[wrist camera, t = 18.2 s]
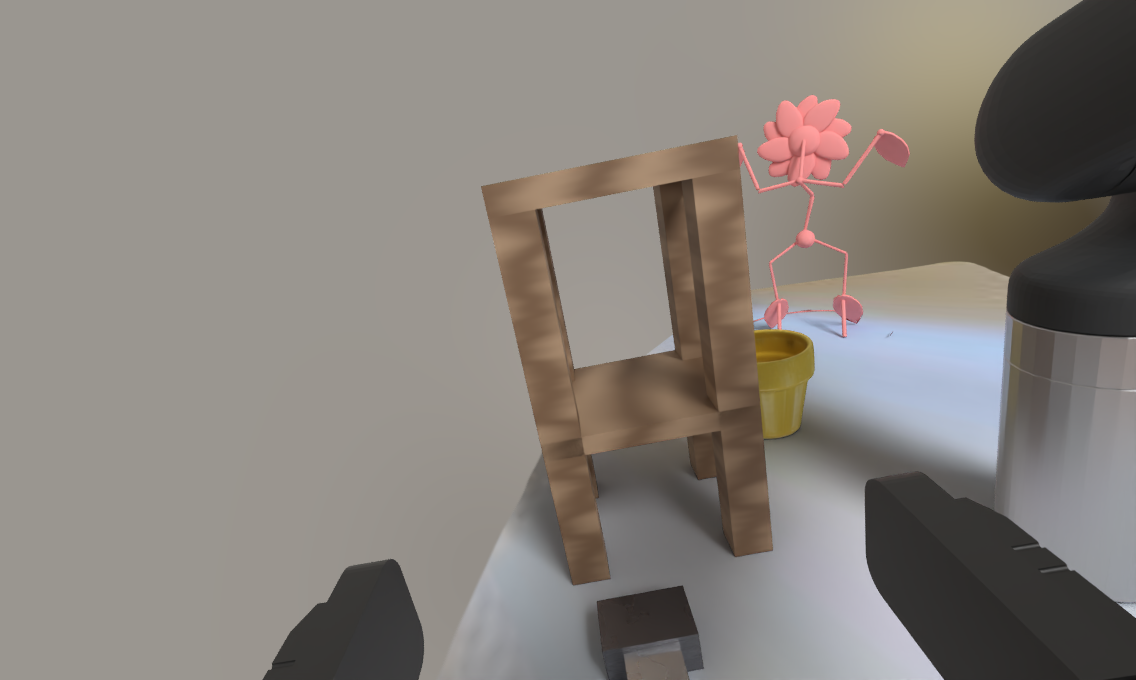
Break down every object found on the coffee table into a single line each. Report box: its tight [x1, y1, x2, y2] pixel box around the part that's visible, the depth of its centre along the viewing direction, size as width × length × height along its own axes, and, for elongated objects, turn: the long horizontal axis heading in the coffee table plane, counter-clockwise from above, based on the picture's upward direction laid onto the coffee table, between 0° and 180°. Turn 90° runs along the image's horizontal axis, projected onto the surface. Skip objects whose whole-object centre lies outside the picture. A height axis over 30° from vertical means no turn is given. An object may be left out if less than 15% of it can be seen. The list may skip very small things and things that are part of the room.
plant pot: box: [754, 329, 815, 439], centre depth 58 cm, size 10×10×10 cm
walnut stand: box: [481, 135, 773, 585], centre depth 43 cm, size 16×14×31 cm
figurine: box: [738, 95, 910, 337], centre depth 81 cm, size 15×26×35 cm, turn 64°
